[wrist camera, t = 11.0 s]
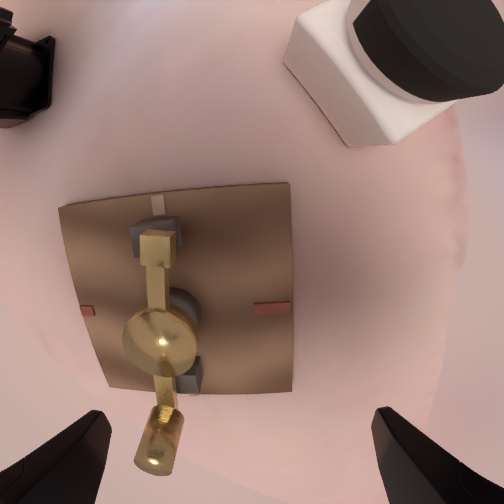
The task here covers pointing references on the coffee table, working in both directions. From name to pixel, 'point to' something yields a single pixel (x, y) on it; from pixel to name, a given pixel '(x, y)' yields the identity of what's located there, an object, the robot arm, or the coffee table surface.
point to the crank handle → (160, 352)
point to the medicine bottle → (394, 62)
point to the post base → (192, 281)
